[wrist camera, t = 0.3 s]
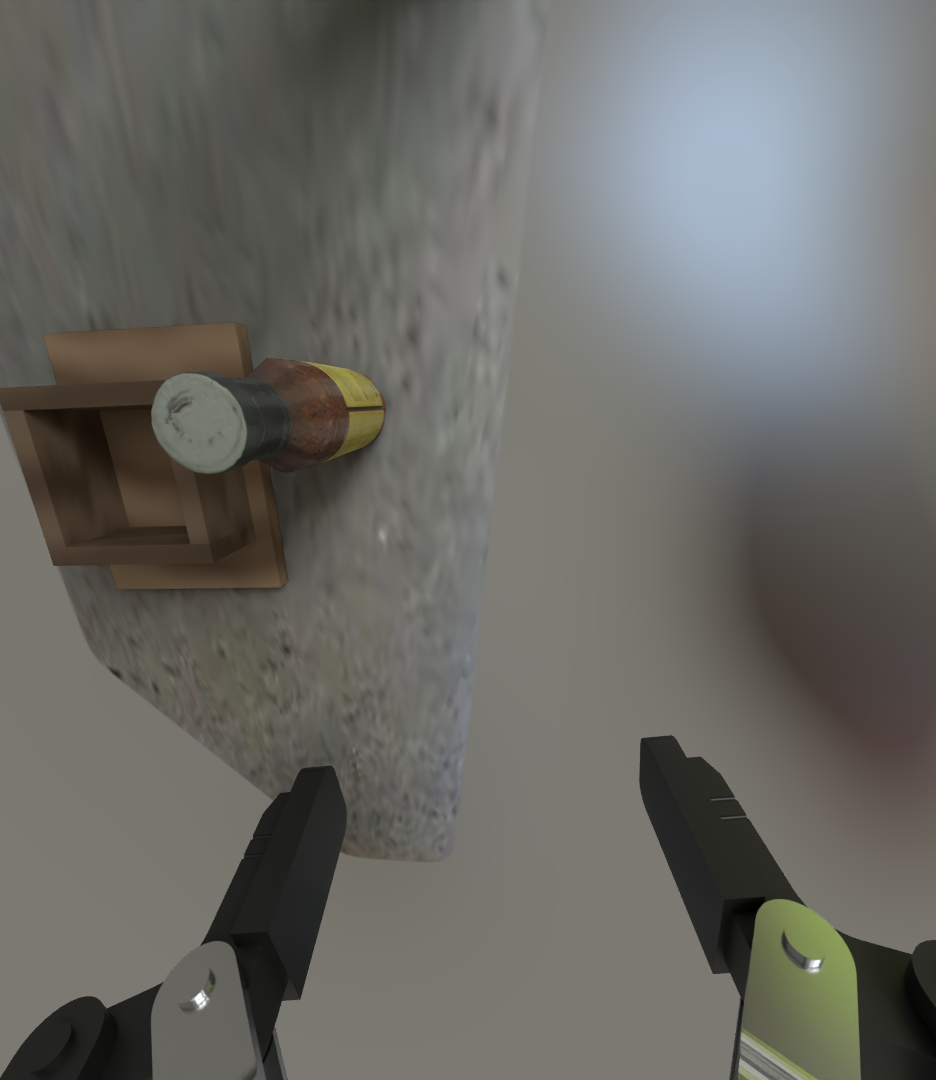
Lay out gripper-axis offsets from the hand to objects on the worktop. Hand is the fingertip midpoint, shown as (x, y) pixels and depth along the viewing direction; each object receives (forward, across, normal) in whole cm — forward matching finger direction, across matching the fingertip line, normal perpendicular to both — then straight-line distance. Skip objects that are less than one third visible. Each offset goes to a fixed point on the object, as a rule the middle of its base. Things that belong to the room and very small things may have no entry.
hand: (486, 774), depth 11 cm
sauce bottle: (+29, +9, -8) cm, 32 cm away
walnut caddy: (+30, +26, -5) cm, 40 cm away
